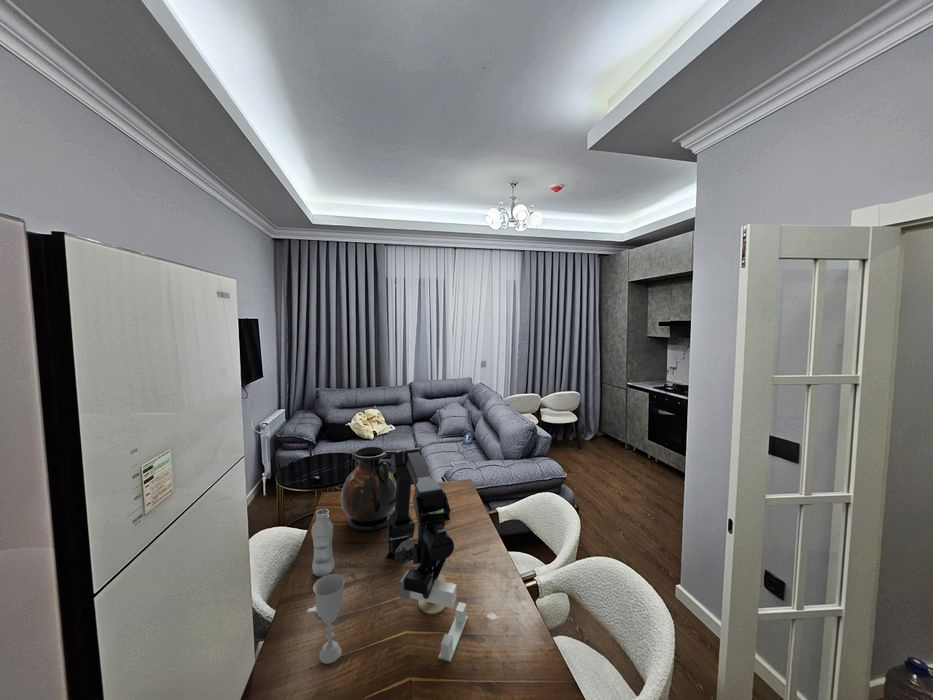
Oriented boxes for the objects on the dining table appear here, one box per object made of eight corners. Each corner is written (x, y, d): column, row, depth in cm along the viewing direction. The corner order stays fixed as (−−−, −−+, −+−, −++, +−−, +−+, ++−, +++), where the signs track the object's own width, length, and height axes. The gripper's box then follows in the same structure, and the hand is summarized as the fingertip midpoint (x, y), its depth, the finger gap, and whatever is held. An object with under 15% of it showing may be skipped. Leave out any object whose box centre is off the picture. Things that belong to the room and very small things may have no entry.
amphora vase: (409, 517, 156) (410, 449, 153) (369, 544, 138) (368, 467, 135) (370, 502, 168) (370, 438, 165) (328, 525, 149) (327, 454, 146)
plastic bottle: (339, 568, 125) (338, 508, 123) (324, 582, 118) (323, 519, 116) (322, 563, 127) (321, 504, 125) (307, 577, 120) (306, 515, 118)
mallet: (457, 597, 101) (457, 581, 101) (451, 609, 97) (452, 593, 97) (407, 585, 105) (407, 570, 105) (399, 597, 101) (399, 581, 100)
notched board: (438, 658, 93) (438, 643, 93) (457, 615, 107) (457, 601, 106) (450, 662, 93) (450, 646, 92) (467, 617, 106) (468, 604, 105)
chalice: (327, 673, 89) (325, 599, 87) (308, 658, 93) (306, 587, 91) (352, 649, 95) (351, 580, 93) (333, 636, 99) (332, 570, 97)
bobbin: (413, 609, 108) (413, 586, 108) (425, 590, 116) (425, 568, 115) (440, 617, 106) (441, 592, 105) (450, 596, 114) (451, 573, 113)
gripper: (414, 512, 110) (414, 564, 112) (382, 552, 93) (382, 613, 94) (452, 519, 107) (451, 572, 109) (426, 561, 90) (426, 624, 91)
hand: (428, 593), depth 101 cm, fingers closed on mallet, 3 cm apart
